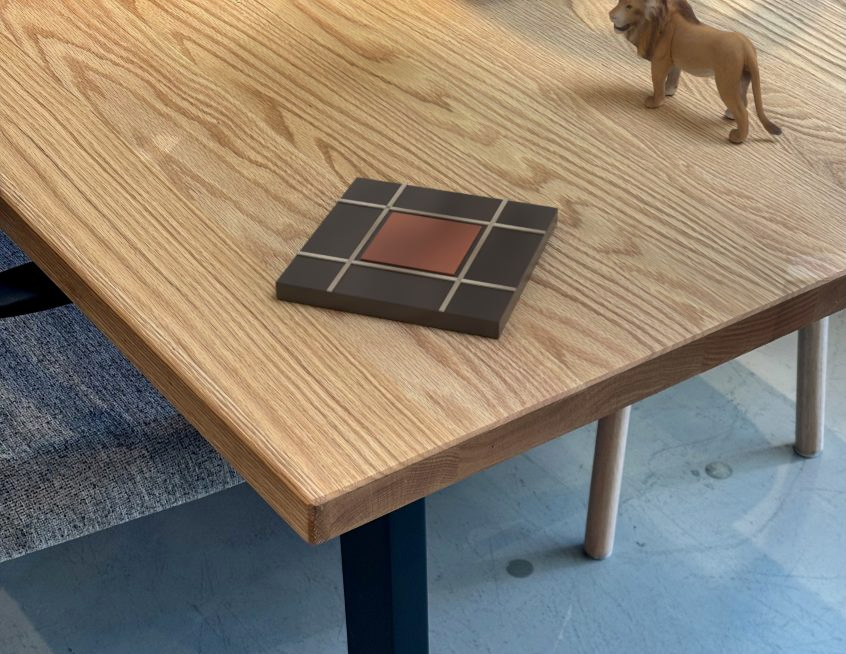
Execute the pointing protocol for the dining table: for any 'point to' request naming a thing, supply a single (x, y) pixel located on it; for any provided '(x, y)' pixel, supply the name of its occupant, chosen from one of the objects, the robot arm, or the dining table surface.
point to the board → (421, 256)
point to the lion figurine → (692, 56)
